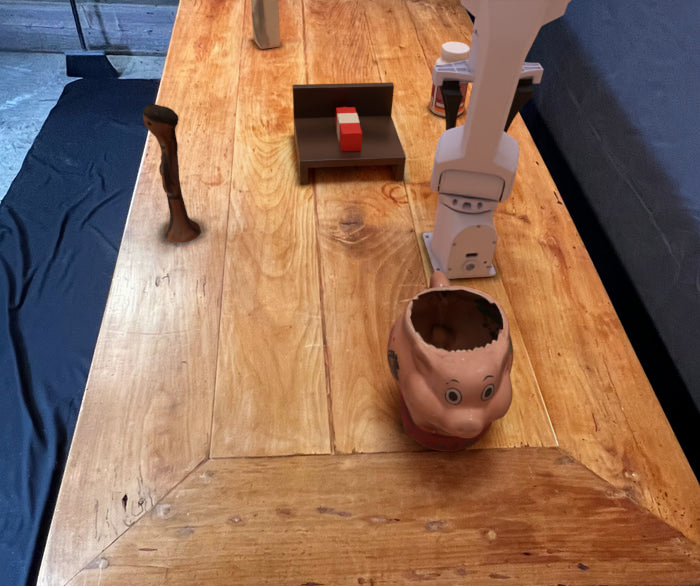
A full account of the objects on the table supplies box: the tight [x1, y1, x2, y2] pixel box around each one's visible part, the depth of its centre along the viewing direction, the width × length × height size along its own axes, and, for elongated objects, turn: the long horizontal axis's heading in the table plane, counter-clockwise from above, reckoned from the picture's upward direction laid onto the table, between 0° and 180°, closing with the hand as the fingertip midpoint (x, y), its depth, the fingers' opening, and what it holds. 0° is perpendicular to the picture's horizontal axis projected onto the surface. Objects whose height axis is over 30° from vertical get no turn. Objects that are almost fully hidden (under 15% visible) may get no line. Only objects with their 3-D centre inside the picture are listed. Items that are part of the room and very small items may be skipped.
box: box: [250, 0, 281, 50], centre depth 125 cm, size 5×4×13 cm
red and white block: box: [336, 107, 362, 152], centre depth 96 cm, size 9×3×3 cm, turn 7°
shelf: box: [291, 82, 407, 185], centre depth 97 cm, size 14×16×9 cm
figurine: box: [142, 102, 202, 243], centre depth 80 cm, size 7×5×18 cm
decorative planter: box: [386, 270, 514, 452], centre depth 63 cm, size 20×12×14 cm, turn 10°
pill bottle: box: [429, 41, 470, 118], centre depth 109 cm, size 6×6×11 cm
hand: (475, 132), depth 89 cm, fingers open, 7 cm apart
